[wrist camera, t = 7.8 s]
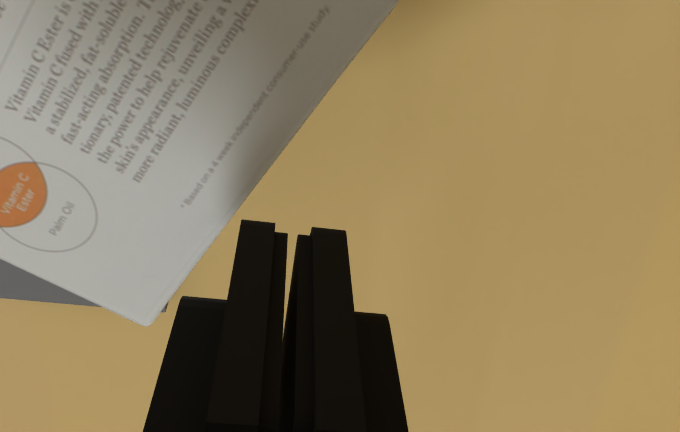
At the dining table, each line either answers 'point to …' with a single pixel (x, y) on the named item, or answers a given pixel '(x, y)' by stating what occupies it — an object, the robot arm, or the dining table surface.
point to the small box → (151, 128)
